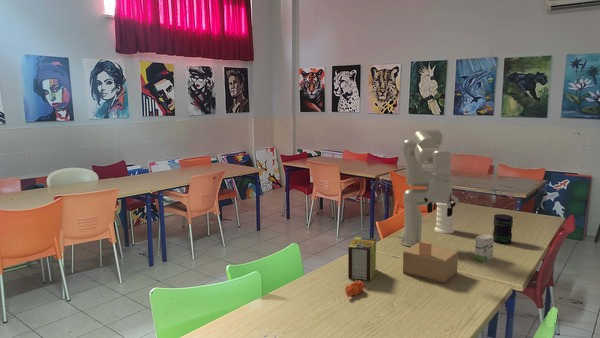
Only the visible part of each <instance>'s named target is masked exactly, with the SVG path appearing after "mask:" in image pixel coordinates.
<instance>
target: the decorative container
mask: <svg viewBox="0 0 600 338" xmlns="http://www.w3.org/2000/svg"><path fill="white" fill-rule="evenodd" d="M451 202H452V203H453V202H454V201H451ZM435 204H436V205H437V207H436V218H435V220H436V222H435V225H436V226H435V227H434V231H435V232H436V233H439V234H444V233H445V234H446V235H447V234H453V233H454V232H455V229H454V228H453V226H454V211H455V208H454V207H453V213H452V216H449V217H447V208H448V206H447V204H443V203H437V202H435Z"/></svg>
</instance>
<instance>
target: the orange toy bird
mask: <svg viewBox="0 0 600 338" xmlns="http://www.w3.org/2000/svg"><path fill="white" fill-rule="evenodd" d="M364 286H365V283H364V282H362V280H355V281H353V282H352V283H350V284H346V285H345V289H344V291H345V293H347V294H346V296H347V298H350V297H352V296H354V295H356V296H358V295H359V294H360V292H361V293H362V292H363V291H364ZM358 293H359V294H358ZM357 294H358V295H357Z"/></svg>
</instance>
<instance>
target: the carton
mask: <svg viewBox="0 0 600 338" xmlns="http://www.w3.org/2000/svg"><path fill="white" fill-rule="evenodd" d="M402 253H403V252H402ZM402 255H403V257H402V259H403V260H402V274H403V273H404V275H407V276H411V277H416V278H420V279H423V280H427V281H431V282H434V283H440V284H443V285H445V284H446V283H447V282H448V281H450V280H451V279H452V278H453V277H454V276H455V275H456V274H458V266H459V265H458V264H459V263H458V262H459V252H458V253H457V254H456V255H454V256H453V257H452V258H450V259H449V260H448V261H447V262H441V261H436V260H432V259H428V258H423V257H419V256H414V255H410V254H405V253H403V254H402Z"/></svg>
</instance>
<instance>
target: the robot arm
mask: <svg viewBox="0 0 600 338" xmlns="http://www.w3.org/2000/svg"><path fill="white" fill-rule="evenodd" d="M443 139H444V138H443V134H442V132H441V131H440V130H438V129H418V130H417V131H416V132H414V134H413V136H412V138H408V139H406V140H405V139H404V141H403V143H402V153H403V156H404V159H405V181H406V185H408V186H409V187H425V188H409V189H407V190H405V191H404V193H403V197H402V198H403V204H404V222H403V223H404V225H403V226H404V228H403V230H404V231H403V234H402V233H398V234H397V237H398V239H401V241H400V243H401V245H402V246H405V247H408V248H410V247H412V246H413V245H415V244H417V243H419V242H420V241H423V240H422V233H423V232H422V229H423V227H422V226H423V213H422V211H421V209H419V207H426V211H427V213H428V214H431V213H433V208H434V207H433V206H434V205H435V204H436V202H437V203H443V204H447V206H448V208H447V217H449V216H452V213H454V211H453V208H454V207H455V206H456V205H457V203H458V202H459V201H460V199H459V198H458V197H457V196H455V195H453V186H452V181H451V180H450V179H451V178H450V175H451V151H449V150H447V149H446V148H443V147H441V145H442V143H443ZM423 165H432V169H427V168H426V169H424V168H423ZM452 202H453V203H452Z"/></svg>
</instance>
